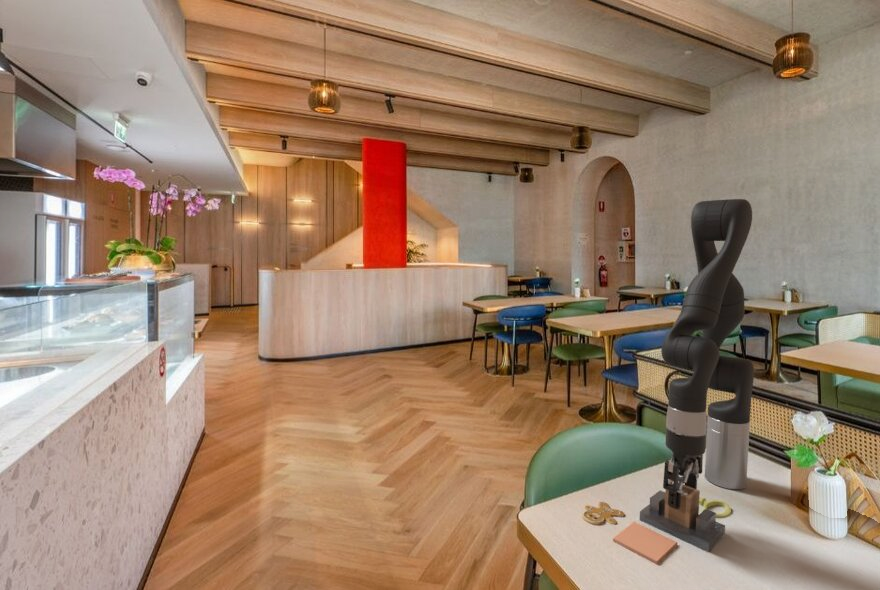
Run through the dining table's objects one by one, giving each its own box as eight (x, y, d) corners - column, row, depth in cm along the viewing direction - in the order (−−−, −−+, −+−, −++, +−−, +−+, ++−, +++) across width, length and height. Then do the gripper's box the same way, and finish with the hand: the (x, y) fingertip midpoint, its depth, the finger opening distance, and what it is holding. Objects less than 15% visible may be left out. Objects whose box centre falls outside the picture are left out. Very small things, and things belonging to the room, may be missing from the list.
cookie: (630, 514, 99) (602, 528, 93) (630, 517, 99) (602, 532, 93) (599, 497, 106) (572, 510, 100) (599, 501, 106) (571, 514, 100)
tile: (634, 524, 96) (634, 521, 96) (676, 544, 89) (676, 542, 89) (612, 540, 90) (612, 538, 90) (656, 564, 83) (656, 561, 83)
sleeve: (674, 509, 98) (675, 481, 98) (698, 519, 94) (699, 490, 94) (664, 517, 95) (665, 488, 94) (688, 528, 91) (690, 498, 91)
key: (675, 491, 110) (675, 483, 110) (732, 510, 102) (733, 501, 102) (667, 503, 105) (667, 494, 105) (727, 524, 97) (727, 515, 96)
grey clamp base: (657, 505, 103) (659, 473, 102) (724, 534, 92) (726, 498, 92) (639, 519, 97) (640, 485, 97) (708, 552, 86) (710, 514, 86)
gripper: (681, 416, 100) (677, 483, 101) (652, 430, 91) (649, 504, 92) (717, 425, 94) (713, 497, 95) (691, 441, 85) (687, 520, 86)
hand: (682, 500), depth 94 cm, fingers open, 8 cm apart
